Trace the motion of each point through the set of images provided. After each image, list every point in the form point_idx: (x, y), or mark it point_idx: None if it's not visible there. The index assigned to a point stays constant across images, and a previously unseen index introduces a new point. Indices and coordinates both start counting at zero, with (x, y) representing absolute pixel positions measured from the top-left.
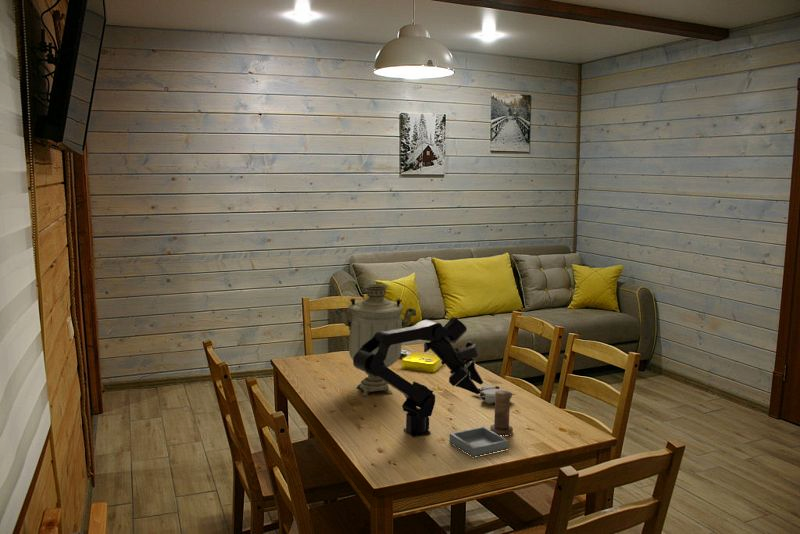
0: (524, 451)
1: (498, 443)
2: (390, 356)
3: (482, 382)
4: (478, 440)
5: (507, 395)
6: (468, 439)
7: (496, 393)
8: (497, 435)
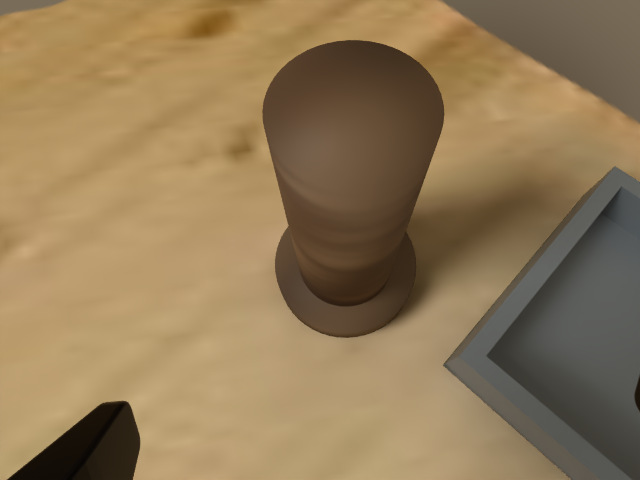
0: (550, 127)
1: None
2: None
3: (123, 414)
4: (575, 373)
5: (405, 60)
6: (596, 446)
7: (409, 166)
8: (573, 238)
